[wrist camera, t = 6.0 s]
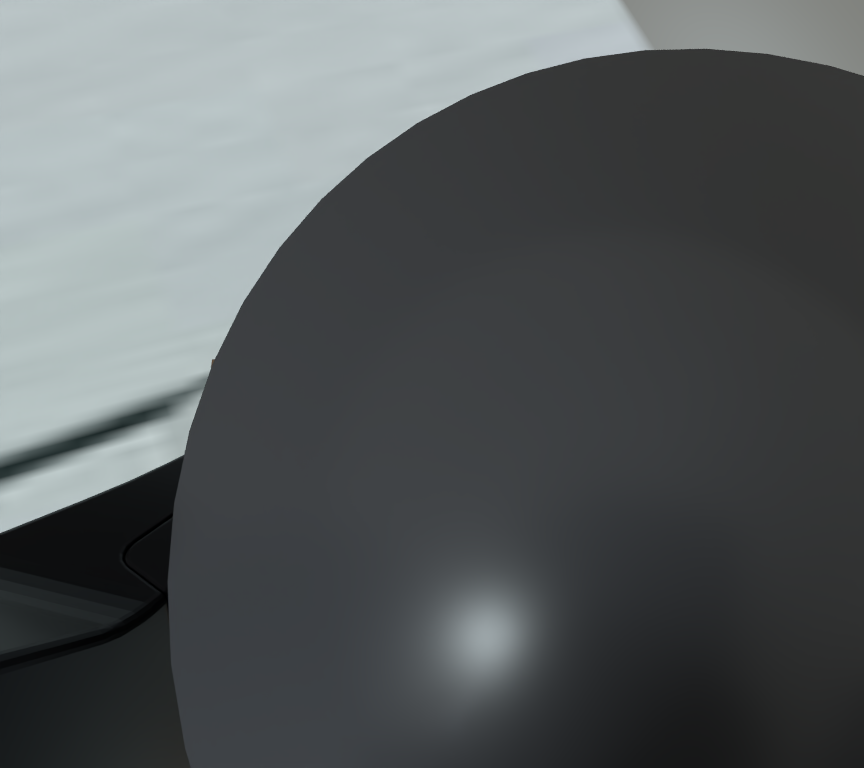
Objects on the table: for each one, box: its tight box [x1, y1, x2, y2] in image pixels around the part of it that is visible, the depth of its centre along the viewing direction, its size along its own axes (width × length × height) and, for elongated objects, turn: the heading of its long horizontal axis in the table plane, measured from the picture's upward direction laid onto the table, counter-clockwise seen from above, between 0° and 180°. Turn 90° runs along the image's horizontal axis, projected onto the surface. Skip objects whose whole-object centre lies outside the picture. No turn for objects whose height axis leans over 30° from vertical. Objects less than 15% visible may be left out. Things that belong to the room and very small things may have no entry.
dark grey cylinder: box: [168, 49, 864, 768], centre depth 9 cm, size 5×5×13 cm
